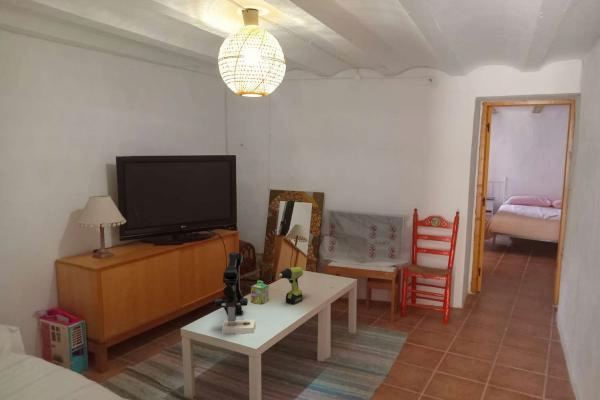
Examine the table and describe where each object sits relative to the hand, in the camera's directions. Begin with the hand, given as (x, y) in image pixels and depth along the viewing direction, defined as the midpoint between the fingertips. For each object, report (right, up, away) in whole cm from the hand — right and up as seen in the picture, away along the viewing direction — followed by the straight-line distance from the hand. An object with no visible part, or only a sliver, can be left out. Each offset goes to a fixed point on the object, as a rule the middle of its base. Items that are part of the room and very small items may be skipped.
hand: (232, 316), depth 258 cm
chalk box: (+12, -2, +46) cm, 47 cm away
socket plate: (+4, -8, +1) cm, 9 cm away
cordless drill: (+33, -3, +41) cm, 53 cm away
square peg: (0, -3, 0) cm, 3 cm away
